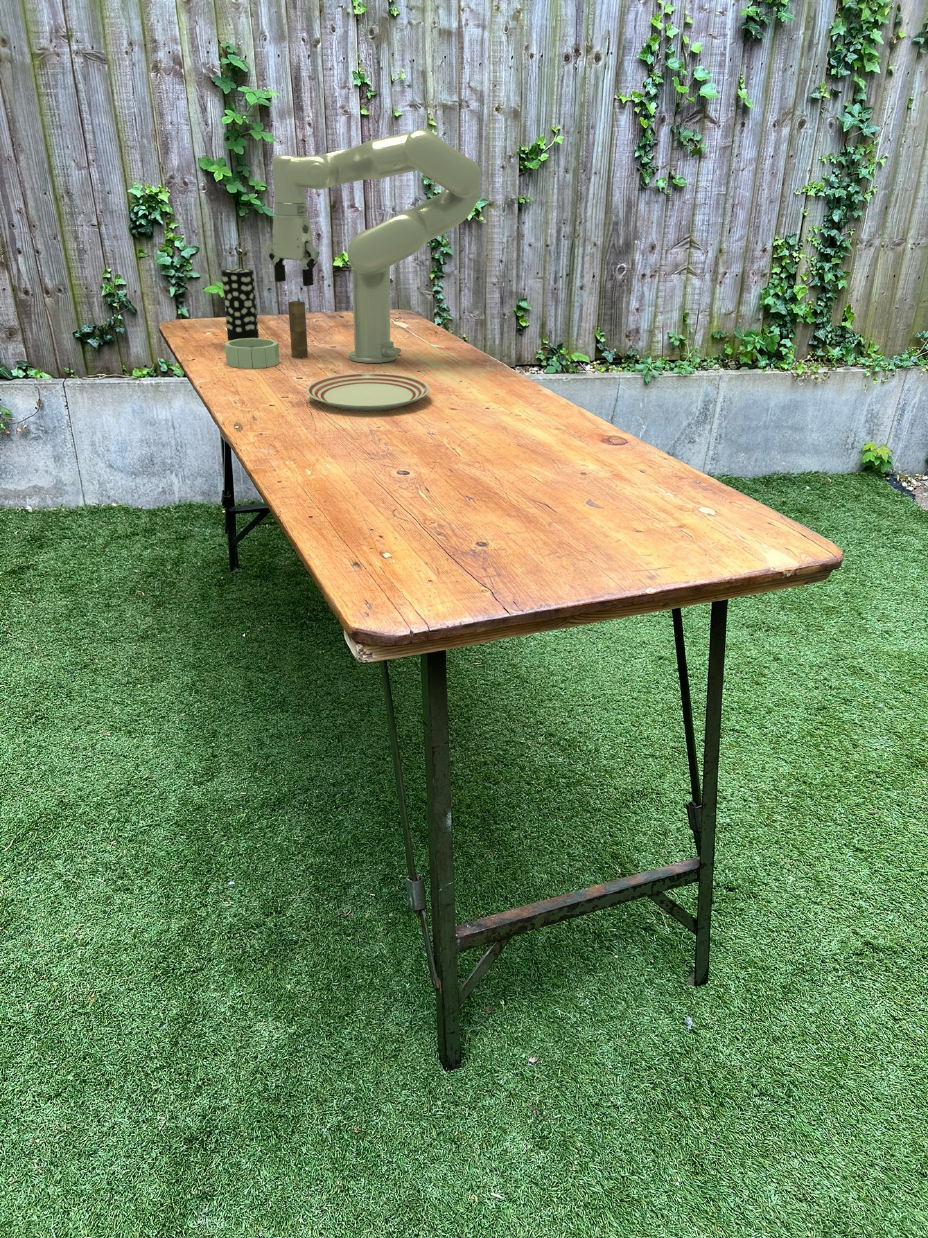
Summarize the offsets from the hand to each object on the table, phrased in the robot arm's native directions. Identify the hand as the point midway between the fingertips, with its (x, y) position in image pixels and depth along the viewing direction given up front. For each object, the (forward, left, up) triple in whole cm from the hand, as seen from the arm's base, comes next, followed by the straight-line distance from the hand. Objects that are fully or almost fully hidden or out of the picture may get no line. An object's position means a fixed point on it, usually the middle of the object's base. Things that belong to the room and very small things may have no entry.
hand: (294, 283), depth 233 cm
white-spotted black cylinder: (+20, +1, -19) cm, 27 cm away
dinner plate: (-43, +23, -19) cm, 52 cm away
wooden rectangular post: (0, 0, -19) cm, 19 cm away
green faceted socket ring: (+4, +13, -19) cm, 23 cm away
